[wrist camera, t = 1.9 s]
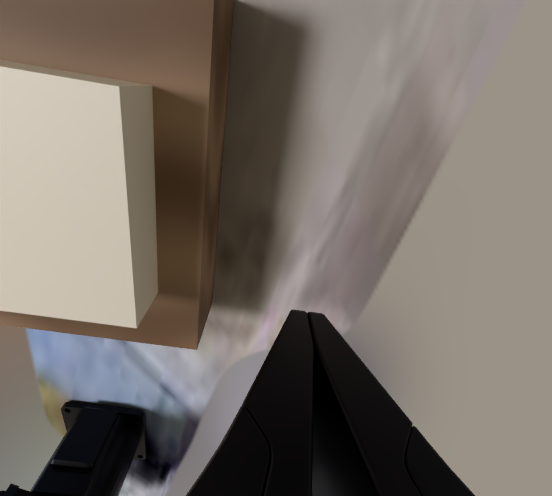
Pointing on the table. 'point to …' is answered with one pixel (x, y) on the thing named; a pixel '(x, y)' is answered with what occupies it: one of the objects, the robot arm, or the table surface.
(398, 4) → the table surface
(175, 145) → the brown box
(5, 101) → the cream rectangular block
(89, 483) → the robot arm
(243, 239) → the table surface
